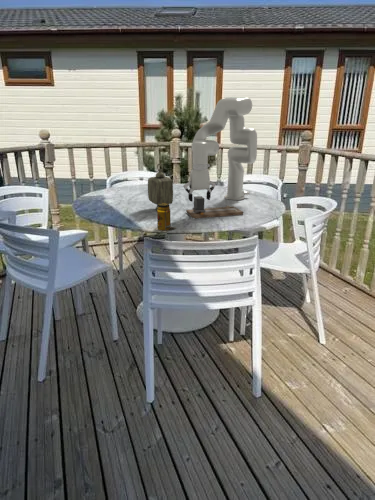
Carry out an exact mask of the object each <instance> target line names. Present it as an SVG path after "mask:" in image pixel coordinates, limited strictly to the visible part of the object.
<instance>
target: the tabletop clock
mask: <svg viewBox="0 0 375 500" xmlns="http://www.w3.org/2000/svg"><path fill="white" fill-rule="evenodd" d="M159 166H160V167H161V168H159ZM156 169H157V171H158V172H156V174H155V176H151V177H150V178H149V179H147V197H148V200H149V202H150V203H152V204H155V205H156V207H155V211H157V210H158V204H159V203H168V204H169V205H171V204H173V203H174V201H173V200H174V183H173V180H172V178H171V177H169V176H166V175H165V173H164V172H163V171H164V167H163V164H161V163H158V164H157V166H156Z"/></svg>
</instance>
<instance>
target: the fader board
mask: <svg viewBox="0 0 375 500" xmlns="http://www.w3.org/2000/svg"><path fill="white" fill-rule="evenodd" d="M204 209H205V212H200V213H196V212H195V211H193V208H192V209H186V210H185V212H187V213H188V214H187V215H189V217H191V218H192V219H193V218H195V219H206V218H216V217H217V218H219V217H231V216H240V215H244V211H243V210H240V209H239V208H237V207H235V206H234V205H233V206H230V205H226V206H221V207H220V206H219V207H207V208H205V207H204Z"/></svg>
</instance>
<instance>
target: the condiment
mask: <svg viewBox="0 0 375 500" xmlns="http://www.w3.org/2000/svg"><path fill="white" fill-rule="evenodd" d="M156 211H157V212H156V214H157V220H156V221H157V224H156V225H157V227H156V228H154V230H156V231H159V232H164V233H167V232H170V231H172V230H175V229H177V227H175V226H171V224H172V223H171V208H170V204H168V203H159V204H158V210H156Z"/></svg>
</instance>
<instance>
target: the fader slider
mask: <svg viewBox="0 0 375 500" xmlns="http://www.w3.org/2000/svg"><path fill="white" fill-rule="evenodd" d="M205 200H206V199H205V197H203V196H201V195H200V196H193V207H192V209H193V211H195V212H196V213H200V212H205Z"/></svg>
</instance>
